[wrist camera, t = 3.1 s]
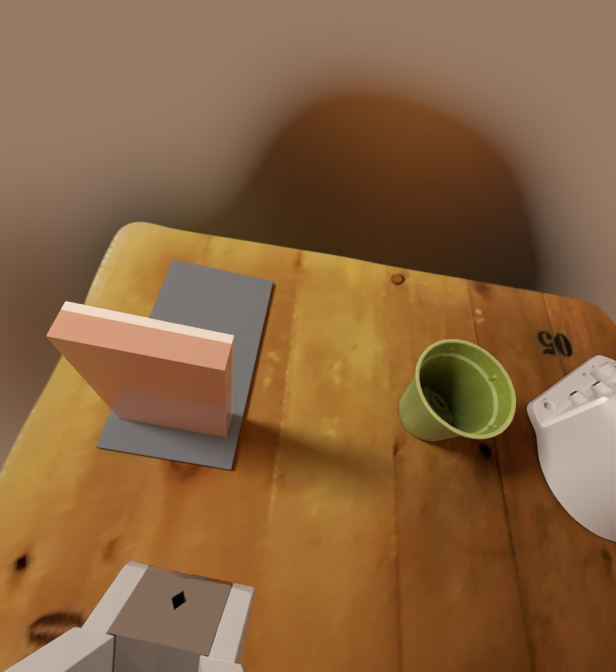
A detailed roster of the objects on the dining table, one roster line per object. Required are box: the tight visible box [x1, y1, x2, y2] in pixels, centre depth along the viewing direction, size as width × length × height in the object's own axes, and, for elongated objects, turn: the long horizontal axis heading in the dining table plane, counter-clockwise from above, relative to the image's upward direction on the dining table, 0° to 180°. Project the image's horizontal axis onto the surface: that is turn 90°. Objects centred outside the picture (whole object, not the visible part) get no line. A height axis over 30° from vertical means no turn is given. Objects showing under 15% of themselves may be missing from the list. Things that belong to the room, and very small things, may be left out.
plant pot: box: [399, 339, 516, 441], centre depth 37 cm, size 9×9×9 cm
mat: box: [96, 260, 273, 470], centre depth 39 cm, size 22×12×1 cm, turn 172°
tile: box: [47, 302, 234, 438], centre depth 29 cm, size 2×10×16 cm, turn 82°
